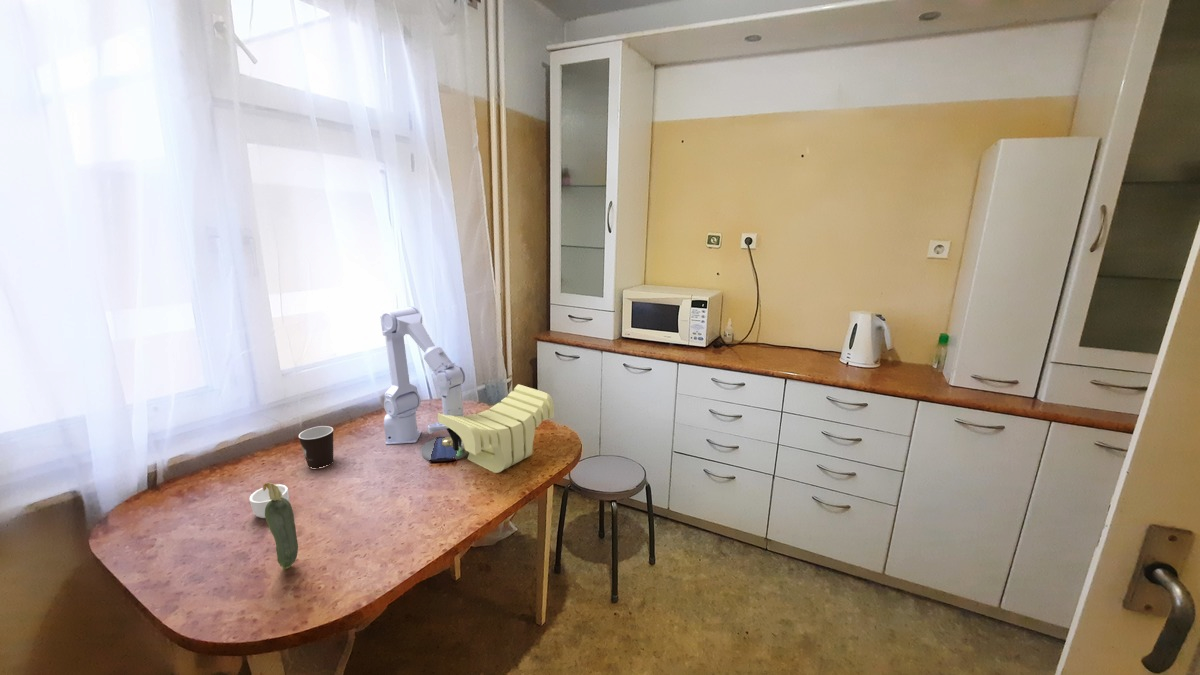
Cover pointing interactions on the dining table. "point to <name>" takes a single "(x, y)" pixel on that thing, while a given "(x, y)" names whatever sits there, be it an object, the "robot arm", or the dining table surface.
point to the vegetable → (281, 526)
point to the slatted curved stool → (503, 428)
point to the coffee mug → (317, 446)
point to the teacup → (265, 499)
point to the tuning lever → (448, 442)
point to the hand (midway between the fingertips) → (456, 449)
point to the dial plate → (428, 449)
